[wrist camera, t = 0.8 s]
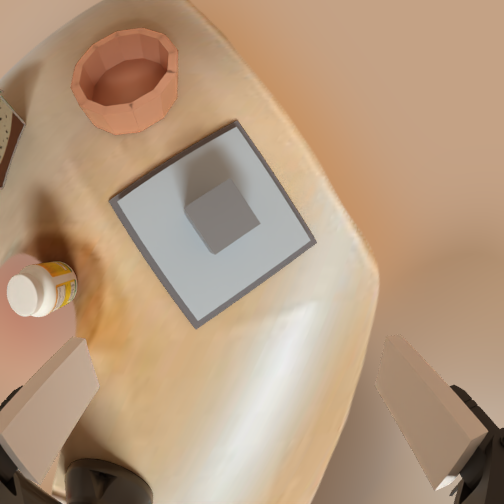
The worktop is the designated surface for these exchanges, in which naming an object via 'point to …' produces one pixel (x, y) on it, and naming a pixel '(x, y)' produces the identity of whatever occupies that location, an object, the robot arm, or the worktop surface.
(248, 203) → the lid
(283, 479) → the worktop surface
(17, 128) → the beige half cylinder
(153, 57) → the bowl
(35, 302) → the supplement bottle
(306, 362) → the worktop surface
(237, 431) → the worktop surface
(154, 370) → the worktop surface
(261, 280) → the tray
